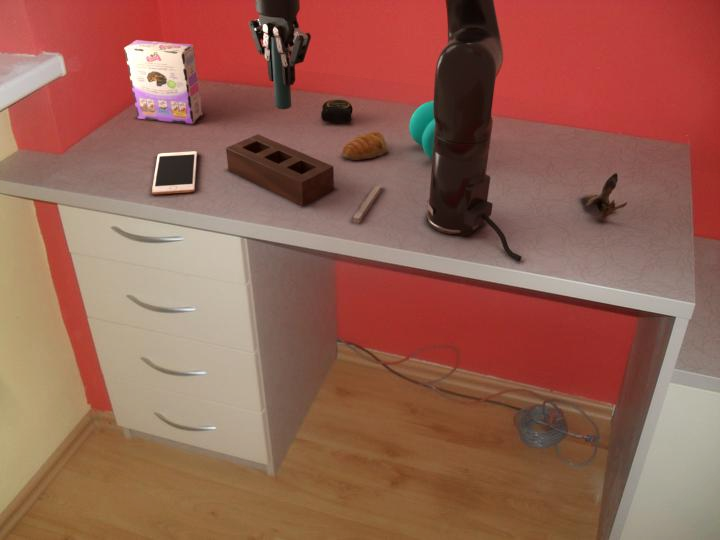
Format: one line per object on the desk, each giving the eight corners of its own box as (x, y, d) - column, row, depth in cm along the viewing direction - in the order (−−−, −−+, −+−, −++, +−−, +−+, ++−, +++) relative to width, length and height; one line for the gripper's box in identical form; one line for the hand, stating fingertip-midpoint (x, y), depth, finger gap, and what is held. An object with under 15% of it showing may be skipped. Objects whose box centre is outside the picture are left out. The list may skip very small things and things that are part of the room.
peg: (294, 106, 131) (291, 35, 123) (282, 110, 129) (278, 39, 121) (283, 101, 132) (279, 31, 125) (271, 106, 130) (266, 35, 123)
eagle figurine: (635, 218, 125) (624, 185, 131) (621, 191, 120) (611, 159, 127) (592, 234, 128) (584, 201, 134) (578, 208, 124) (571, 176, 130)
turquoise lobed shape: (449, 139, 152) (453, 95, 146) (468, 160, 145) (473, 114, 139) (406, 145, 150) (408, 101, 144) (423, 166, 142) (426, 120, 136)
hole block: (259, 156, 145) (257, 133, 142) (333, 189, 134) (333, 166, 131) (228, 170, 140) (225, 147, 137) (303, 206, 129) (301, 182, 126)
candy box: (203, 114, 162) (194, 43, 152) (193, 125, 157) (183, 52, 147) (148, 108, 164) (136, 38, 154) (136, 119, 159) (122, 46, 150)
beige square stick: (375, 189, 135) (375, 185, 134) (381, 190, 134) (381, 186, 134) (353, 222, 125) (353, 217, 125) (359, 223, 125) (359, 218, 124)
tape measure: (320, 125, 158) (320, 109, 155) (324, 113, 163) (324, 97, 161) (350, 126, 157) (350, 111, 155) (354, 114, 163) (354, 99, 160)
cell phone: (152, 194, 132) (151, 192, 131) (158, 156, 144) (157, 153, 144) (194, 192, 133) (194, 189, 132) (197, 153, 145) (196, 151, 145)
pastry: (355, 166, 142) (355, 148, 140) (334, 154, 146) (334, 137, 144) (390, 153, 147) (390, 136, 145) (369, 142, 151) (370, 125, 149)
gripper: (231, -21, 119) (240, 78, 129) (289, -5, 112) (294, 98, 122) (264, -29, 124) (270, 67, 134) (322, -14, 116) (324, 86, 126)
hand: (281, 82), depth 128 cm, fingers closed on peg, 3 cm apart
